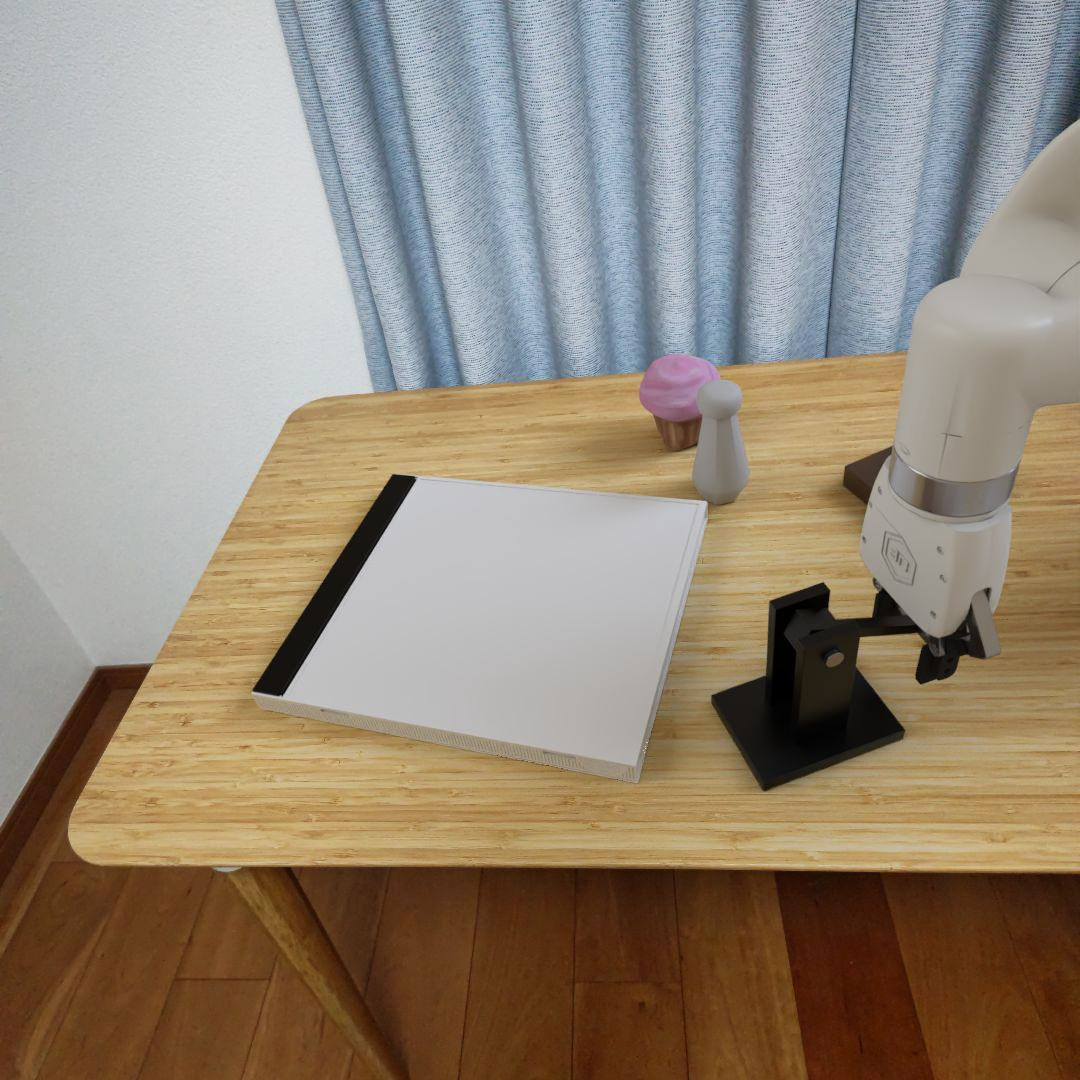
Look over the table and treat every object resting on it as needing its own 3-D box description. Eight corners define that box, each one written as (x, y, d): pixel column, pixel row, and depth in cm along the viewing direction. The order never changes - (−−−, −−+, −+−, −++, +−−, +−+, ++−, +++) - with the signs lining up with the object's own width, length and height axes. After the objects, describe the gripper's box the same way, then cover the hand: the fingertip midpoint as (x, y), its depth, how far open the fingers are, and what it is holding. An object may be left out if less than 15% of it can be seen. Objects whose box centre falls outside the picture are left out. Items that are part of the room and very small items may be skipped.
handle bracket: (840, 656, 76) (854, 548, 68) (903, 739, 70) (928, 630, 61) (711, 703, 75) (708, 598, 66) (763, 792, 68) (768, 688, 59)
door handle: (899, 612, 71) (912, 589, 70) (938, 657, 68) (953, 634, 66) (773, 620, 67) (785, 596, 65) (808, 668, 63) (821, 644, 62)
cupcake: (665, 471, 97) (660, 394, 91) (630, 431, 104) (623, 356, 97) (737, 444, 99) (738, 366, 92) (698, 406, 105) (696, 331, 98)
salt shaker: (757, 481, 94) (760, 376, 85) (737, 515, 91) (737, 410, 82) (705, 469, 97) (702, 366, 88) (683, 502, 93) (678, 398, 85)
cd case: (249, 692, 79) (393, 471, 100) (259, 708, 81) (399, 488, 102) (635, 766, 68) (707, 501, 89) (637, 783, 70) (707, 519, 91)
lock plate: (945, 440, 94) (949, 420, 93) (1011, 486, 88) (1017, 465, 86) (842, 484, 92) (844, 464, 90) (902, 535, 85) (906, 514, 84)
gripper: (828, 417, 64) (811, 592, 76) (988, 570, 51) (937, 750, 64) (922, 387, 65) (890, 565, 77) (1100, 531, 52) (1029, 716, 65)
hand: (912, 647), depth 70 cm, fingers closed on door handle, 5 cm apart
